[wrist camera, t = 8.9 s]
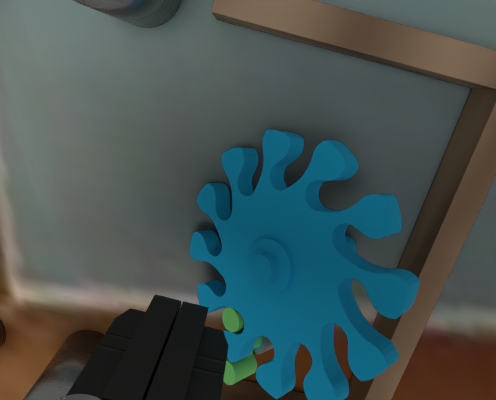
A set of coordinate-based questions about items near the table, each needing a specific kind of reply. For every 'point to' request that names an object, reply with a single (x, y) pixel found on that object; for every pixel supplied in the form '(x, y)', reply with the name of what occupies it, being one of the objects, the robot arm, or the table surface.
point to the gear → (297, 268)
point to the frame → (448, 175)
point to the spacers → (85, 342)
